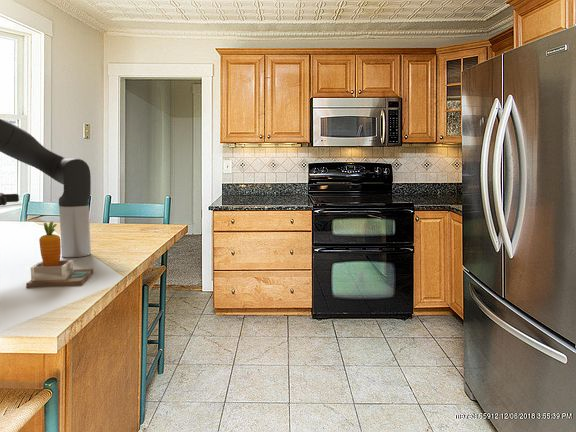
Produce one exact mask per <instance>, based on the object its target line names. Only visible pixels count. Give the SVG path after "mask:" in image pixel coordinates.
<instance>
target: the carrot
mask: <svg viewBox="0 0 576 432" xmlns="http://www.w3.org/2000/svg"><path fill="white" fill-rule="evenodd" d="M57 225H58V224H56V223H54V221H53V220H52V221H51V220H50V222H49V224H48V223H47V222H44V223H43V227H44V228H43V229H44V230H45V231H44V232H45V233H46V234H45V235H42V236H40V237H39V249H40V256H41V261H43V263H44V266H59V262H60V260H61V256H62V252H61V236H59V234H53V233H54V232H55V230H56V227H57Z"/></svg>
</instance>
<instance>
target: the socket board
mask: <svg viewBox="0 0 576 432" xmlns="http://www.w3.org/2000/svg"><path fill="white" fill-rule="evenodd" d="M93 274H94V268H86V269H85V268H82V269H81V268H80V269H76V268H75V269H74V259H65V260H63V259H60V262H59V266H44V263H43V260H40V261H39V262H37V263H36V264H34V265H32V266H30V280H29V281H28V282H26V283H25V284H26V286H25V287H26V288H27V289H30V288H32V289H34V288H52V287H75V286H77V287H78V286H82V285H83V284H84V283H86V281H87V280H88V279H89V278H90V277H91V276H92V275H93Z"/></svg>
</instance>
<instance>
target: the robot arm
mask: <svg viewBox="0 0 576 432" xmlns="http://www.w3.org/2000/svg"><path fill="white" fill-rule="evenodd" d="M0 152H1V153H2V154H4V155H6V156H8V157H11V158H13V159H15V160H17V161H19V162H21V163H23V164H25V165H28V166H31V167H33V168H35V169H37V170H39V171H40V172H42V173H44V174H45V175H47V176H48V177H50V178H51V179H53V180H54V181H56V182H58V183H59V184H61V185H63V192H62V195H61V196H60V197H59V198H58V211H59V213H58V214H59V229H60V231H59V232H60V243H61V256H62V257H63V258H81V257H87V256H90V255H91V253H92V249H91V248H92V247H91V226H90V225H91V224H90V205H89V201H90V197H91V191H92V190H91V189H92V188H91V187H92V186H91V185H92V184H91V183H92V182H91V181H92V178H91V170H90V166H89V165H88V163H87V162H86V161H84V159H82V158H71V157H70V158H67V157H64V156H61V155H59V154H57V153H55V152H53V151H51V150H49V149H47V148H46V147H44V145H42V144H41V143H40V141H38V140H37V139H36V138H35V137H34V136H33V135H32V134H31V133H29V132H28V131H26V130H25V129H23V128H21V127H19V126H18V125H16V124H14V123H13V122H10V121H8V120H6V119H4V118H1V117H0ZM19 198H20V196H19V194H18V193H8V194H7V193H3V192H0V206H5V205H7V204H8V203H18V202H19V200H20V199H19Z"/></svg>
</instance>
